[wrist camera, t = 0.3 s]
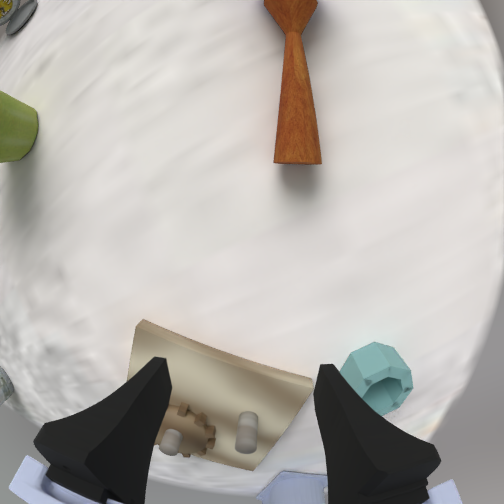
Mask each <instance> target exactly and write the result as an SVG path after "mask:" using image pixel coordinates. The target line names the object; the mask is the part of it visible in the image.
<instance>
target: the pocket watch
mask: <svg viewBox="0 0 504 504" xmlns="http://www.w3.org/2000/svg"><path fill="white" fill-rule="evenodd" d="M3 1H4V0H0V26H1V25H3V24H5V23H7V22H8V21H9V20H10V22H9V24H8V26H7V28H6V34H8V35H11V34H13V33H15V32H16V31H18V30H19V29H20V28H21V27H22V26H23V25H24V24H25V22H26V21H27V20H28V19H29V17H30V16H31V14H32V13H33V12H34V10H35V8H36V5H37V0H29V1H27V2H26V3H25V4H23V5H22V6H21V7H20V8H19V9H18V7H19V5H20V0H11V2H10V3H9V4H10V5H11V6H10V5H9V4H7V3H8V1H9V0H8V1H7V2H6V1H4V3H3ZM5 2H6V3H5ZM8 5H9V6H8ZM2 6H3V7H2ZM8 9H9V11H7V10H8ZM2 10H3V13H4V12H6V11H7V13H6V14H5V15H2V14H1V12H2ZM1 16H3V17H1Z"/></svg>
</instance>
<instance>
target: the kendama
mask: <svg viewBox="0 0 504 504" xmlns="http://www.w3.org/2000/svg"><path fill="white" fill-rule="evenodd" d="M317 4H318V3H317V0H264V6H265V7H266V8H267V10H268V11H269V12H270V14H271V15H272V16H273V18H274V19H275V21H276V22H277V23H278V25H279V26H280V28H281V29H282V30H283V32H284V33H285V35H286V40H285V51H284V62H283V73H282V83H281V94H280V104H279V114H278V124H277V134H276V143H275V153H274V163H278V164H322V160H321V152H320V144H319V136H318V128H317V121H316V114H315V108H314V102H313V96H312V90H311V84H310V78H309V73H308V68H307V63H306V58H305V53H304V48H303V44H302V39H301V34H302V32H303V30H304V28H305V27H306V25H307V23H308V21H309V20H310V18H311V16H312V14H313V13H314V11H315V9H316V7H317Z"/></svg>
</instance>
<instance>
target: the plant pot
mask: <svg viewBox="0 0 504 504" xmlns="http://www.w3.org/2000/svg"><path fill="white" fill-rule="evenodd" d="M37 130H38V122H37V112H36V110H35V109H34V108H32V107H30V106H28V105H26V104H25V103H22V102H21V101H19V100H17V99H15V98H13V97H11V96H9V95H8V94H6V93H4V92H2V91H0V163H3V162H10V161H18V160H21V159H22V157H23V156H24V155H25V154H27V153H28V152H29V151H30V149H31V147H32V145H33V143H34V141H35V138H36V134H37Z"/></svg>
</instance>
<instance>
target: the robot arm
mask: <svg viewBox="0 0 504 504" xmlns="http://www.w3.org/2000/svg"><path fill="white" fill-rule="evenodd" d="M171 392H172V383H171V378H170V374H169V369H168V364H167V359H166V358H162V357H155V356H154V357H153V358H152V359H151V360H150V361H149V362H148V363H147V364H146V365H145V366H144V367H143V368H141V369H140V370H139V371H138V372H137V373H136V374H135V375H134V376H133V377H132V378H131V379H129V380H128V381H127V382H126V383H125V384H124V385H122V386H121V387H120V388H119V389H117V390H116V391H115V392H113V393H112V394H111V395H109V396H108V397H106V398H105V399H103V400H102V401H100V402H98V403H97V404H95V405H93V406H91V407H89V408H87V409H85V410H83V411H81V412H79V413H76V414H74V415H71V416H68V417H66V418H63V419H59V420H56V421H52V422H48V423H45V424H44V425H43V427H42V428H41V430H40V431H39V433H38V435H37V436H36V438H35V439H34V445H35V447H36V448H37V450H38V451H39V452H40V453H41V454H42V455H43V456H44V457H45V458H46V460H47V461H48V462H49V463H50V464H51V465H50V467H49V468H48V467H46V466H45V465H43V464H42V463H40V462H38V461H36V460H35V459H33V458H32V457H30V456H28V455H26V457H25V459H24V460H23V462H22V464H21V466H20V467H19V469H18V471H17V473H16V475H15V476H14V478H13V480H12V482H11V484H10V486H9V489H10V490H11V491H12V492H14V493H15V494H16V495H18V496H19V497H20V498H22V499H23V500H24V501H26V502H27V503H28V504H144V503H145V492H146V491H145V490H146V484H147V477H148V471H149V466H150V461H151V456H152V451H153V447H154V443H155V440H156V437H157V435H158V432H159V429H160V426H161V424H162V421H163V418H164V416H165V413H166V410H167V408H168V405H169V401H170V396H171ZM313 394H314V404H315V412H316V416H317V420H318V425H319V429H320V433H321V437H322V441H323V445H324V450H325V456H326V466H327V476H325V475H313V474H303V473H295V472H287V471H283V472H281V473H280V474H279V475H278V476H277V477H276V478H275V479H274V480H273V481H272V482H271V483H270V484H269V485H268V486H267V487H266V488H265V489H264V490H263V491H262V492H261V493H260V494H258V495H257V496H256V499H258V500H262V504H326V503H325V496H324V488H325V487H326V486H328V504H463V503H462V500H461V498H460V495H459V493H458V490H457V488H456V486H455V483H454V481H453V480H452V479H450V480H448V481H446V482H444V483H442V484H439V485H437V486H435V487H433V488H431V489H429V490H428V491H427V489H426V486H427V485H428V481H427V477H428V476H429V475H430V474H431V473H432V472H433V471H434V470H435V469H436V468H437V467H438V466H439V464H440V462H441V459H440V457H439V454H438V452H437V450H436V448H435V446H434V445H433V444H430V443H428V442H425V441H423V440H420V439H418V438H416V437H414V436H412V435H410V434H408V433H406V432H404V431H402V430H401V429H399V428H397V427H396V426H394V425H393V424H391V423H390V422H388V421H387V420H386V419H384V418H383V417H382V416H380V415H379V414H378V413H377V412H375V411H374V410H373V409H372V408H371V407H370V406H369V405H368V404H367V403H366V402H365V401H364V400H363V399H362V398H361V397H360V396H359V395H358V394H357V393H356V391H355V390H354V389H353V388H352V387H351V386H350V385H349V383H348V382H347V381H346V380H345V378H344V377H343V376H342V375H341V373H340V372H339V371H338V370H337V368H336V367H335V366H334V365H333V364H321V365H320V368H319V373H318V377H317V381H316V385H315V389H314V393H313Z"/></svg>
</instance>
